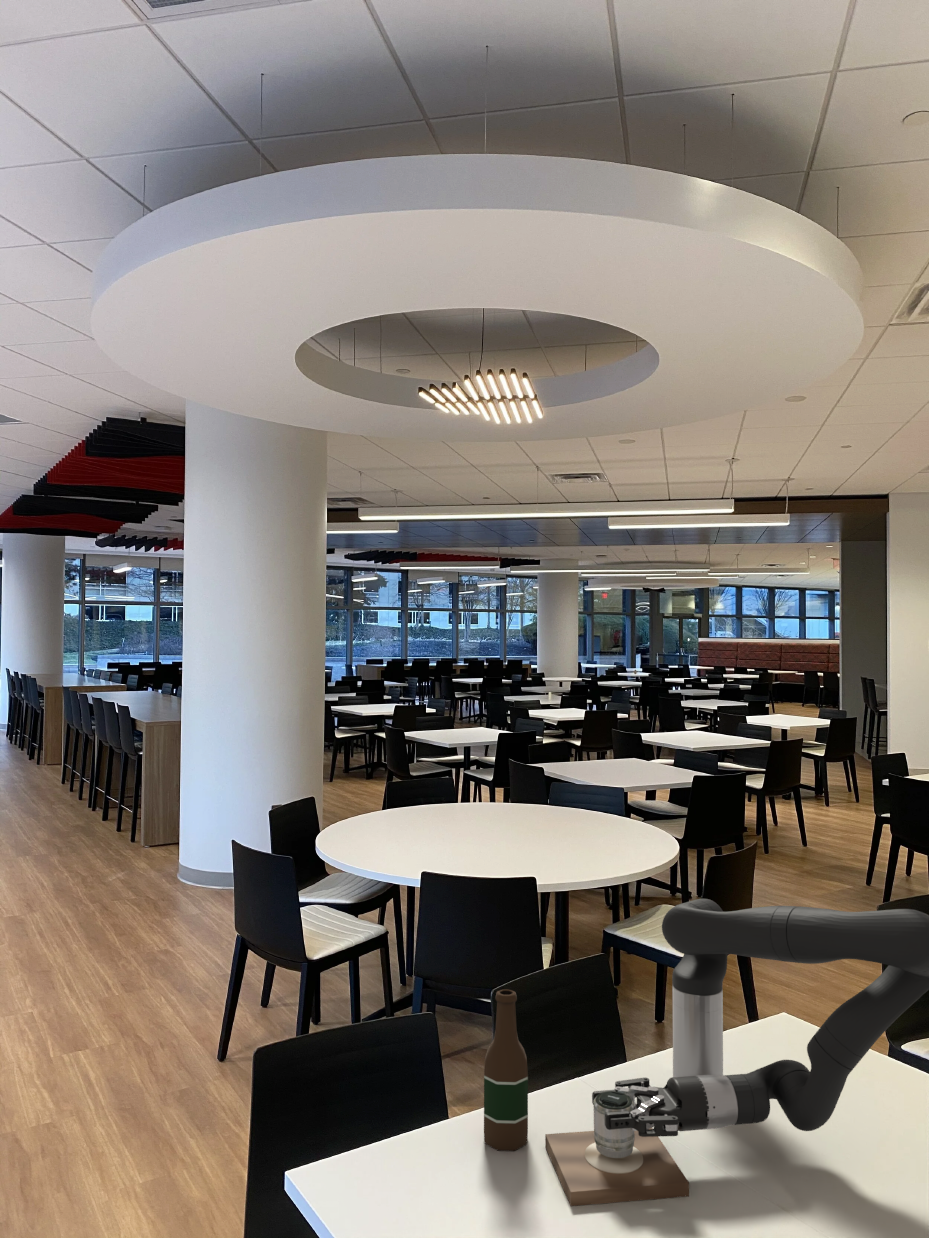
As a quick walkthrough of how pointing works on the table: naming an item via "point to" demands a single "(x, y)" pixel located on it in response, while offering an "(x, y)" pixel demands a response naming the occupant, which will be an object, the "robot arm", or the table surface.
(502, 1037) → the beer bottle
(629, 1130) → the camera lens
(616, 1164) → the display stand
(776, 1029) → the table surface
